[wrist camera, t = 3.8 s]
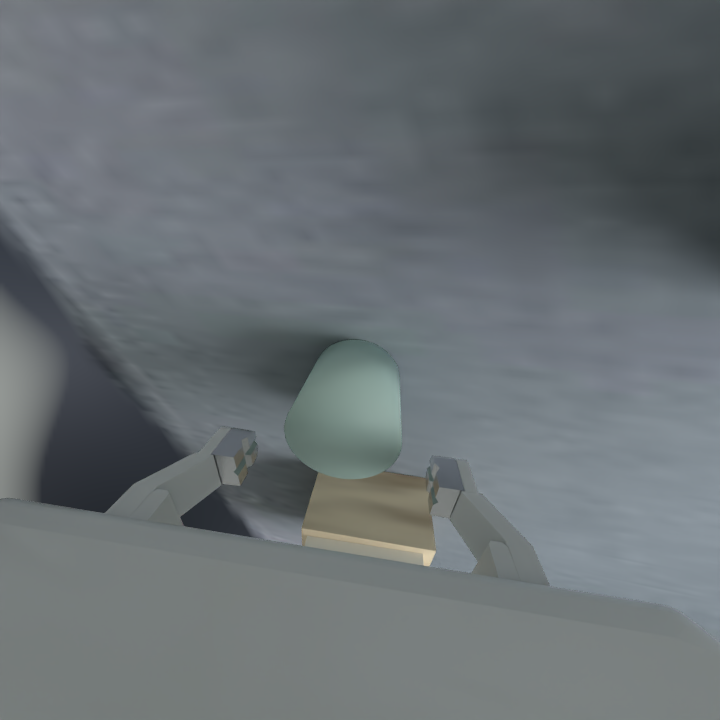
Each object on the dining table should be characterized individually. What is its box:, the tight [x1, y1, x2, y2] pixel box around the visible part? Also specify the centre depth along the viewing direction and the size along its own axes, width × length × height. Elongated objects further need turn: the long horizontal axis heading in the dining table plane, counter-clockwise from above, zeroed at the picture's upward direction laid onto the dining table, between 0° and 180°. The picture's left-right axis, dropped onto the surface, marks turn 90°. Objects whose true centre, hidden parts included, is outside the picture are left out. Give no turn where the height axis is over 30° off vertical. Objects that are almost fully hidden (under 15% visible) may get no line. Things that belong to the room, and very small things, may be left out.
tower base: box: [302, 472, 436, 566], centre depth 19 cm, size 8×8×5 cm
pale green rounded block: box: [284, 340, 402, 479], centre depth 13 cm, size 5×5×5 cm
